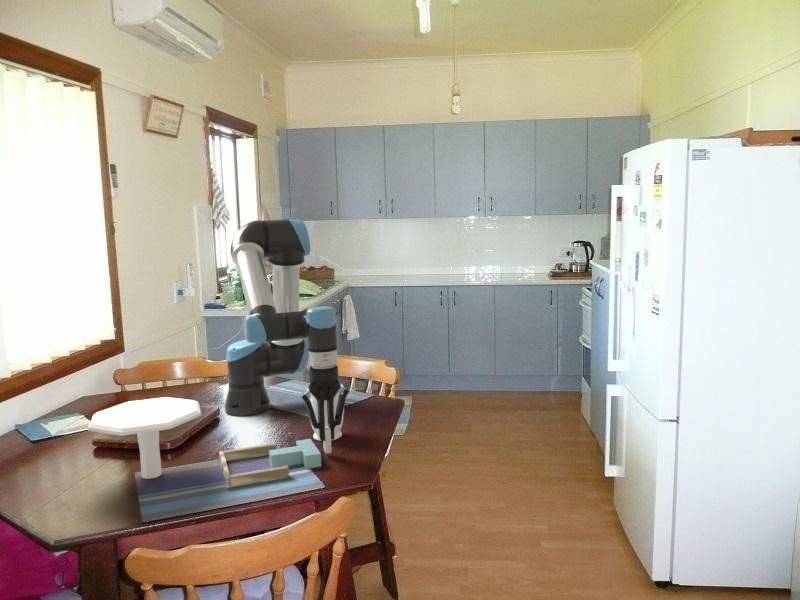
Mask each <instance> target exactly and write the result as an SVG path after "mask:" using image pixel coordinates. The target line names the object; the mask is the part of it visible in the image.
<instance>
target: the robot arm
mask: <svg viewBox="0 0 800 600" xmlns="http://www.w3.org/2000/svg"><path fill="white" fill-rule="evenodd" d="M310 254H311V241H310V236H309V232H308V228H307V226H306V223H305V222H304V221H302V220H300V219H290V218H286V219H269V220H261V219H260V220H253V221H250V222H246V224H244V225H242V227H240V229H238V231H237V232H236V233H235V235H234V237H233V239H232V241H231V245H230V255H231V260H232V262H233V263H234V264H235V266H237V270H238V274H239V279H240V283H241V288H242V291H243V296H244V300H245V305H246V309H247V314H248V315H246V316H244V318H243V333H244V339H241V340H238V341H236V342H234V343H231V344H230V345H228V347H227V349H226V359H225V360H226V363H227V366H226V367H227V381H228V389H227V390H228V391H227V394H226V399H225V401H224V412H225V414H227V415H231V416H235V417H239V416H241V417H242V416H243V417H244V416H245V417H246V416H254V415H258V414H262V413H265V412H267V411H269V410H270V409H271V408H272V404H271V399H270V396H269V394H268V392H267V389H266V387H265V379H264V378H268V377H275V376H285V375H294V374H298V373H299V374H300V373H302V372H304V371H305V370H306V368H307V367H308V364H309V366H310V367H309V370H308V371H309V384H308V387H307V388H308V389H306V391H304V392H302V393H300V397H301V399H302V400H303V402H304V404H305V407H306V410H307V414H308V416H309V419H310V420H311V421H310V420H309V421H310V424H312V425H311V427H312V426H313V427H314V428H315V429H316V428H317V429H319V438H320V440H321V441H320V442H322V444H323V445H322V446H323V451H324V452H325V454H331V453H332V452H333V451H332V450H333V449H332V441H333V440H332V439H334V429H335V426H337V425H340V424H341V420H342V414H343V409H344V410H345V403H346V398H347V397H348V395H349V393H350V390H349V389H348V388H347V387H344V386H343V387H342V386H341V385H342V384H341V382H340V380H339V367H338V363H339V362H338V342H337V341H338V340H337V318H336V311H335V308H334V307H333V306H328V305H326V306H324V305H323V306H312V307H309V308H304V309H302V310H300V267H301V266H302V265H303V264H304V263H305V257H307V256H309V255H310ZM264 258H267V262H268V264H270V266H271V267H272V290H271V286H270V282H269V278H268V275H267V272H266V268H265V263H264V261H263V260H264ZM340 384H341V385H340ZM338 391H339V397H338V403H337V408H336V413H335V419H334V406H333V403H334V397H335V395H336V394H337V392H338ZM311 393H312V395H313V396H314V397H315V398H316V399H317V406H318V423H317V420H316V417H315V414H314V410H313V407H312V404H311V401H310V399H311V396H310V394H311ZM325 400H326V401H327V418H328V426H326V427H325V417H324V401H325ZM331 440H332V441H331Z"/></svg>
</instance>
